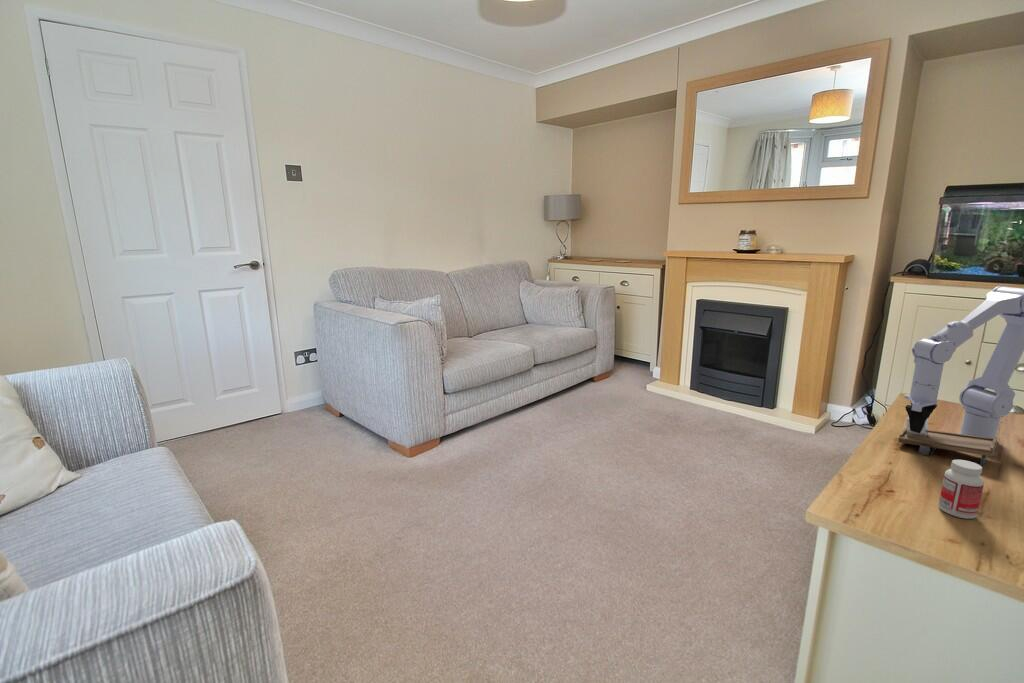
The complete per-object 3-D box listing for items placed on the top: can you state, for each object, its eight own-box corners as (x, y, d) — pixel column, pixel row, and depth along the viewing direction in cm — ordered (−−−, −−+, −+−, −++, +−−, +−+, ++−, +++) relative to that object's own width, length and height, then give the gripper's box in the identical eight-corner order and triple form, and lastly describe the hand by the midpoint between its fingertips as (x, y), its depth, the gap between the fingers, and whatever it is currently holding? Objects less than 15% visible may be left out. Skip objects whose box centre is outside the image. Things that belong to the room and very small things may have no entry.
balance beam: (907, 431, 141) (907, 425, 141) (997, 444, 127) (997, 436, 127) (898, 442, 134) (898, 435, 134) (992, 456, 120) (992, 448, 120)
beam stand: (909, 436, 142) (911, 426, 141) (987, 455, 130) (989, 445, 129) (898, 449, 133) (900, 439, 132) (980, 471, 121) (983, 460, 120)
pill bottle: (980, 513, 103) (991, 466, 100) (971, 523, 99) (982, 474, 97) (943, 500, 108) (953, 455, 105) (933, 509, 104) (943, 462, 102)
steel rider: (909, 432, 138) (909, 415, 137) (928, 434, 135) (928, 417, 134) (906, 435, 135) (906, 418, 134) (925, 438, 132) (925, 420, 131)
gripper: (913, 374, 139) (905, 419, 142) (901, 385, 130) (892, 432, 133) (945, 380, 134) (936, 425, 137) (935, 391, 125) (925, 440, 128)
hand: (917, 429), depth 135 cm, fingers closed on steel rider, 4 cm apart
